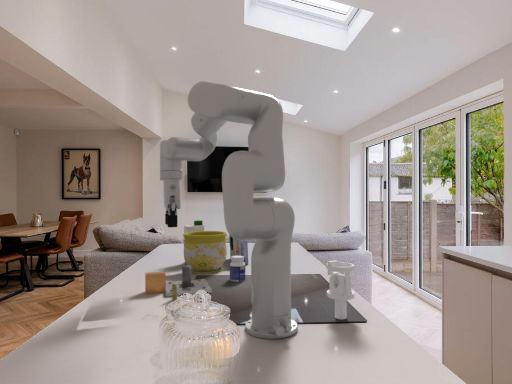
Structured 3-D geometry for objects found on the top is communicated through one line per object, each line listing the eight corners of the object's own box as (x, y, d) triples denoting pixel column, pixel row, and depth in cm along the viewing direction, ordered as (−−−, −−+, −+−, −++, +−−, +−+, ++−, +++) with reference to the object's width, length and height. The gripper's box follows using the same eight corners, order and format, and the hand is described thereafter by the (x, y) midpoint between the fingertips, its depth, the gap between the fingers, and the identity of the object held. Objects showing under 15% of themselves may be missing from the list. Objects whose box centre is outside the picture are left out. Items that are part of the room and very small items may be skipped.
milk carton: (206, 264, 167) (205, 221, 168) (187, 266, 164) (186, 222, 164) (200, 261, 175) (200, 220, 175) (182, 262, 172) (182, 220, 172)
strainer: (321, 314, 96) (321, 258, 96) (344, 311, 99) (343, 257, 99) (336, 323, 90) (336, 263, 90) (360, 319, 92) (359, 261, 92)
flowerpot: (232, 274, 145) (232, 234, 145) (188, 279, 138) (187, 236, 138) (220, 266, 162) (220, 230, 162) (180, 270, 155) (179, 232, 155)
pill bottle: (243, 286, 127) (243, 258, 127) (227, 285, 128) (227, 257, 128) (247, 282, 133) (246, 255, 133) (232, 281, 134) (231, 254, 134)
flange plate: (204, 282, 127) (204, 265, 127) (211, 292, 113) (211, 273, 114) (145, 287, 121) (145, 269, 121) (145, 298, 108) (145, 278, 108)
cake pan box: (228, 258, 182) (228, 223, 182) (238, 257, 184) (238, 223, 184) (238, 265, 164) (238, 226, 164) (248, 264, 165) (248, 226, 165)
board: (234, 300, 110) (234, 271, 110) (145, 309, 102) (145, 278, 102) (218, 281, 134) (217, 257, 134) (145, 287, 127) (145, 261, 127)
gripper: (185, 175, 117) (185, 228, 117) (179, 177, 134) (179, 223, 134) (161, 175, 115) (161, 228, 115) (158, 176, 131) (158, 223, 131)
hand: (171, 225), depth 124 cm, fingers open, 9 cm apart
